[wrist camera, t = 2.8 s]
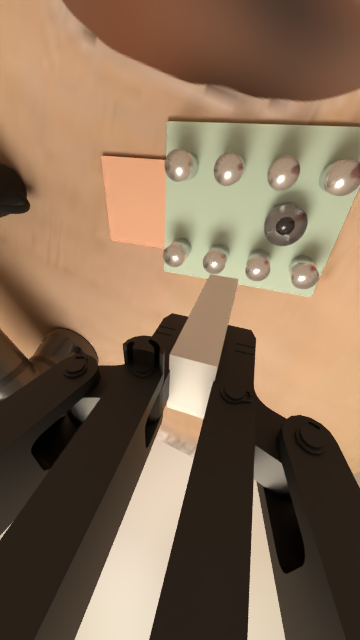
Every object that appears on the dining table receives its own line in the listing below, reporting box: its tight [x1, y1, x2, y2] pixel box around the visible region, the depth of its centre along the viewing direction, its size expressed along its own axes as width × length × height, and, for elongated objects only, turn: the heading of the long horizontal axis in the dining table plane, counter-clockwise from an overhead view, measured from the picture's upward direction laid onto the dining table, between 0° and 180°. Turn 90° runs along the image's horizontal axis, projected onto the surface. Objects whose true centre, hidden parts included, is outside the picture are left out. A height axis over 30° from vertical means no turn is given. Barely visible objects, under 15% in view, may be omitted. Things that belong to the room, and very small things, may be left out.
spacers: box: [163, 149, 360, 289], centre depth 30 cm, size 21×14×4 cm
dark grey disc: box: [264, 202, 308, 246], centre depth 30 cm, size 5×5×2 cm
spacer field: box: [164, 121, 360, 297], centre depth 32 cm, size 24×20×1 cm
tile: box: [101, 156, 166, 249], centre depth 35 cm, size 10×12×1 cm
